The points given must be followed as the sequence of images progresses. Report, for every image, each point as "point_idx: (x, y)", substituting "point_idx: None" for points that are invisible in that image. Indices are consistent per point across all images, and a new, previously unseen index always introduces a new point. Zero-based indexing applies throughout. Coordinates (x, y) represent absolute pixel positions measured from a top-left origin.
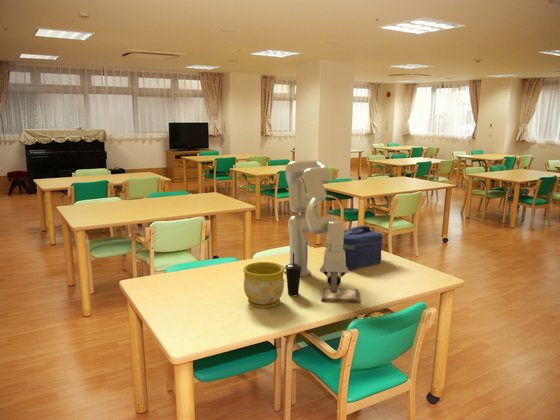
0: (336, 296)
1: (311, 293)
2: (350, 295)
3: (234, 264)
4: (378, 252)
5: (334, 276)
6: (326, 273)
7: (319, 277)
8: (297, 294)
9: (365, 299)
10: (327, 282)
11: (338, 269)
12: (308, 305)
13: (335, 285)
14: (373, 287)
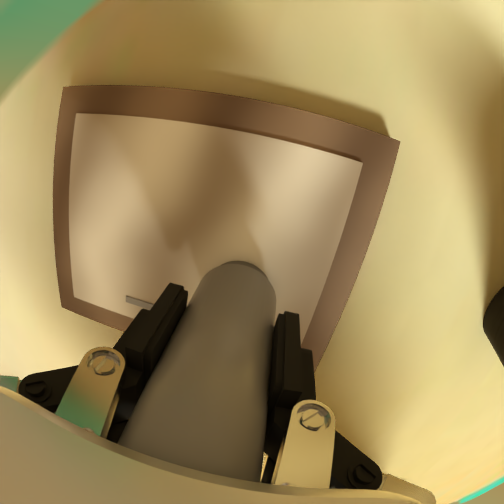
0: (235, 171)
1: (412, 315)
2: (104, 190)
3: (479, 486)
4: None
5: (198, 392)
6: (337, 466)
7: None
8: (500, 293)
9: (36, 166)
10: (310, 354)
11: (37, 483)
12: (490, 95)
13: (213, 295)
14: (21, 329)
